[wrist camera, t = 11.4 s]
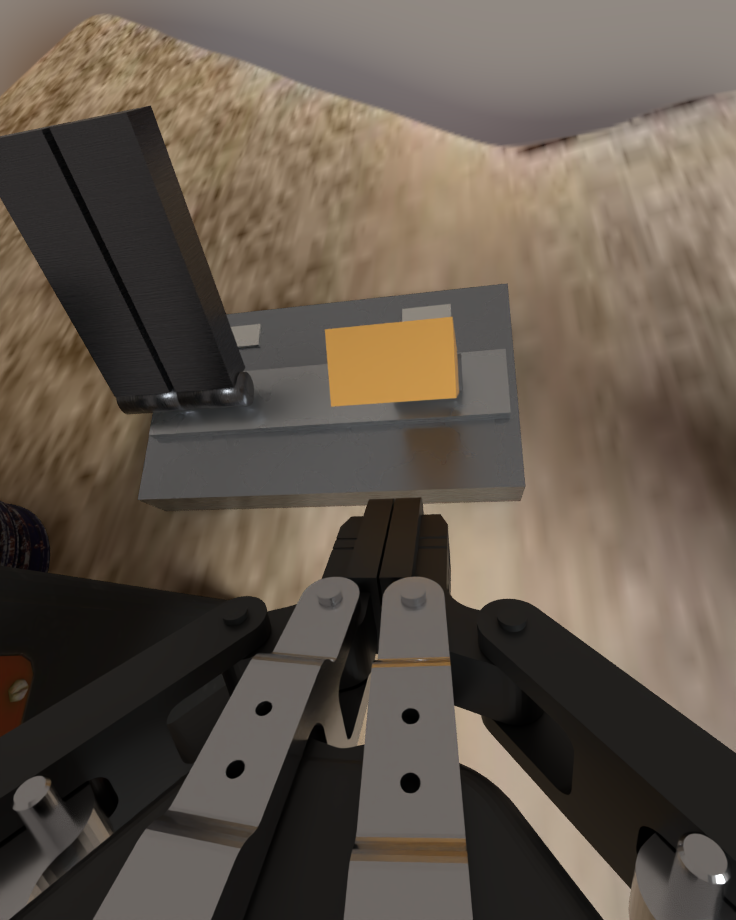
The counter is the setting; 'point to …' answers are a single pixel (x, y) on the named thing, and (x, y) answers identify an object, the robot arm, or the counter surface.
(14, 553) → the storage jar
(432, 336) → the lever
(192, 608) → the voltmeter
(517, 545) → the counter surface
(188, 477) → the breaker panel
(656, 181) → the counter surface
